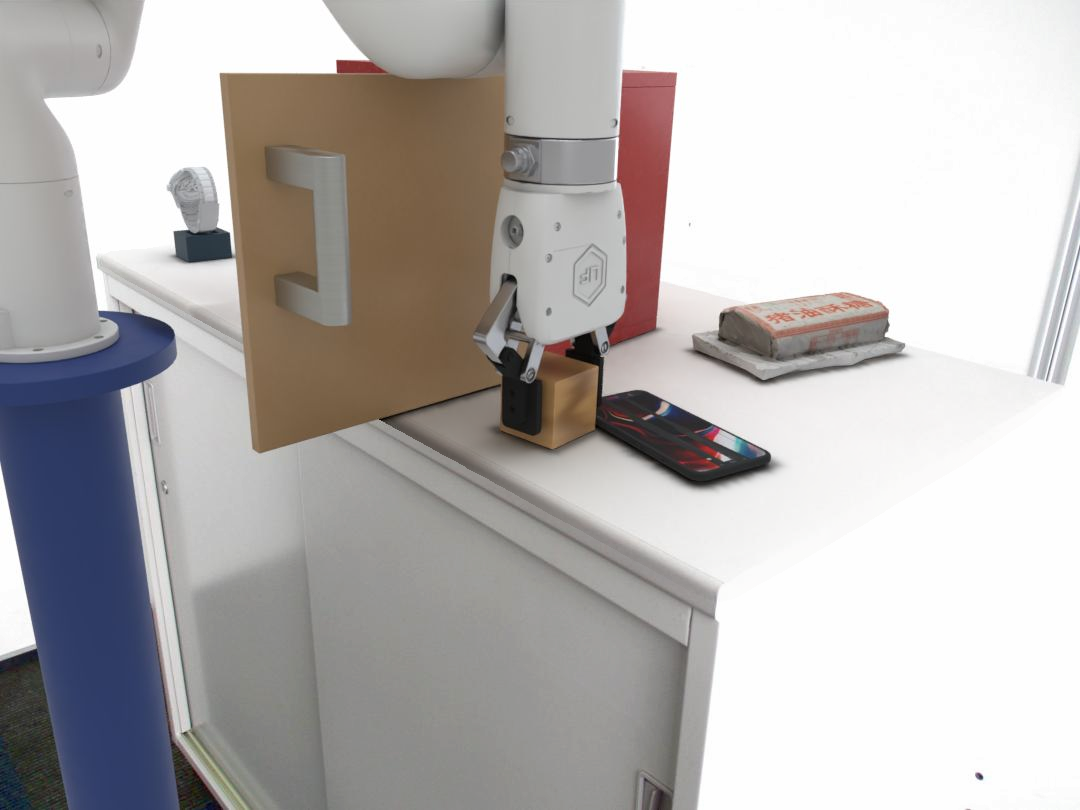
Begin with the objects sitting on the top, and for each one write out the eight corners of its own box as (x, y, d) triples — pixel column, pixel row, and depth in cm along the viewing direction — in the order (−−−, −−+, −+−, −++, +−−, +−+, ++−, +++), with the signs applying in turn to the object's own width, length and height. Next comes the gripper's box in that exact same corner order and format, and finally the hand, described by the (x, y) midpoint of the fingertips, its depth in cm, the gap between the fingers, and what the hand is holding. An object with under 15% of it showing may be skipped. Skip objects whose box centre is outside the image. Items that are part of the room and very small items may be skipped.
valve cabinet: (542, 370, 80) (553, 72, 72) (346, 310, 96) (335, 59, 87) (656, 328, 93) (677, 72, 85) (467, 282, 109) (468, 61, 100)
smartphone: (641, 387, 75) (777, 454, 63) (640, 395, 75) (776, 463, 63) (567, 402, 71) (697, 476, 60) (567, 410, 72) (696, 486, 60)
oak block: (552, 449, 65) (555, 382, 63) (499, 430, 68) (500, 365, 66) (595, 430, 68) (599, 366, 67) (543, 412, 71) (545, 350, 69)
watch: (213, 248, 121) (204, 162, 117) (237, 259, 116) (229, 169, 112) (169, 253, 118) (159, 164, 114) (193, 265, 112) (183, 172, 108)
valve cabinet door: (596, 393, 75) (615, 79, 66) (310, 486, 58) (284, 79, 49) (533, 369, 80) (542, 74, 71) (252, 449, 63) (219, 72, 54)
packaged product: (832, 282, 94) (913, 306, 86) (825, 328, 96) (904, 355, 88) (693, 300, 85) (769, 329, 77) (688, 350, 87) (762, 383, 79)
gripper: (516, 181, 53) (512, 468, 59) (679, 159, 65) (661, 398, 71) (425, 168, 57) (430, 436, 63) (593, 150, 69) (583, 376, 76)
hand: (552, 414), depth 67 cm, fingers open, 6 cm apart
